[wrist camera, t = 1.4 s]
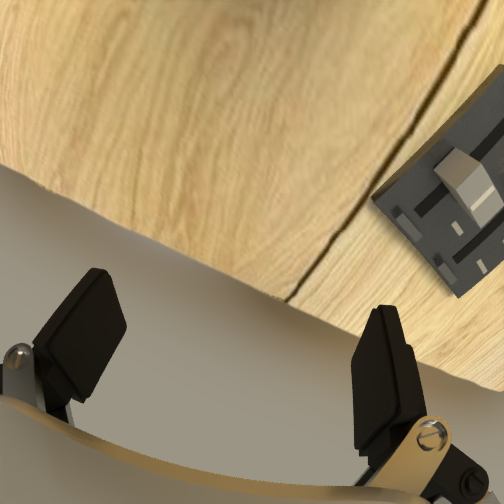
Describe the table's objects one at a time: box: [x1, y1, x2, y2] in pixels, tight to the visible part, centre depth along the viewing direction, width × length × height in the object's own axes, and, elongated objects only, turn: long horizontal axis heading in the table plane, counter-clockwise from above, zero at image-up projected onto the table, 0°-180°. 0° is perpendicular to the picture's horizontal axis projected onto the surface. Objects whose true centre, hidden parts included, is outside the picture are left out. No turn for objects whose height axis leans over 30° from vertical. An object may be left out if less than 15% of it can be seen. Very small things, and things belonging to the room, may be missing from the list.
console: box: [371, 64, 504, 299], centre depth 28 cm, size 26×22×3 cm
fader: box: [434, 147, 504, 228], centre depth 25 cm, size 4×6×6 cm, turn 52°
